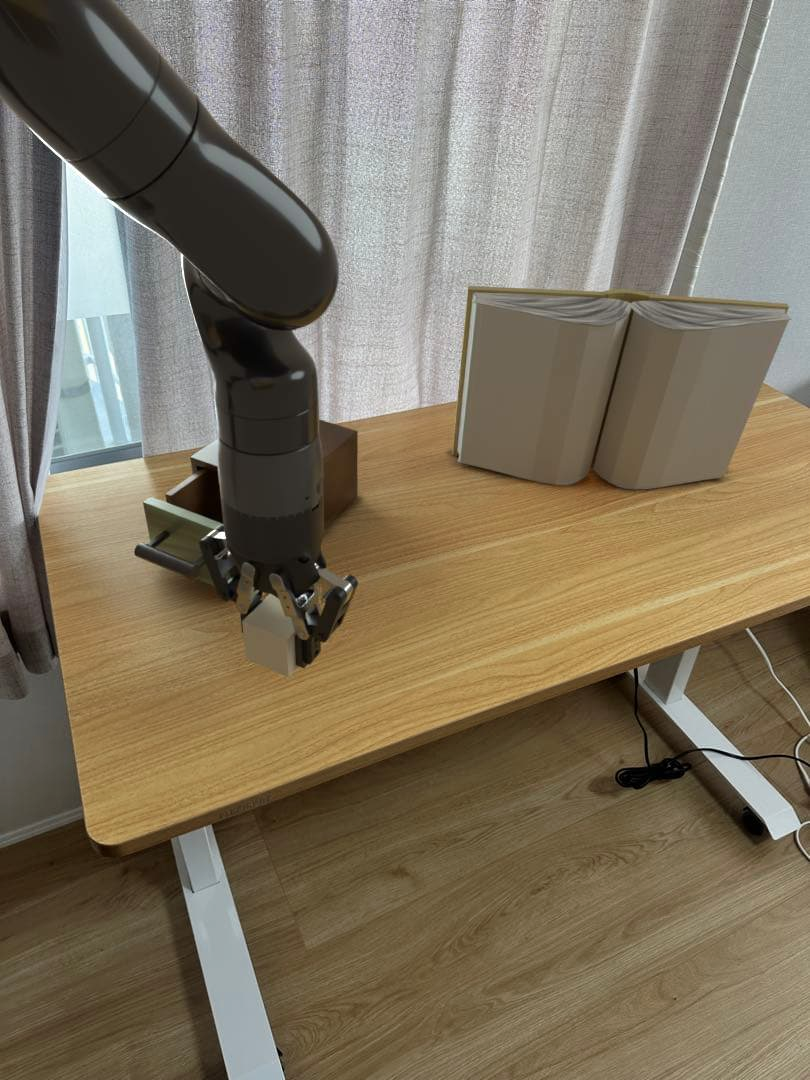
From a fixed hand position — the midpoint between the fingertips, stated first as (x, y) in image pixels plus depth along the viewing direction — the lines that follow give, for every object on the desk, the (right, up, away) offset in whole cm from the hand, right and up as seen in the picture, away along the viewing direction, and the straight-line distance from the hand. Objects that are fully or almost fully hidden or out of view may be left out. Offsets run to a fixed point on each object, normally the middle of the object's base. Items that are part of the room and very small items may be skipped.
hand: (281, 649), depth 69 cm
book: (+35, +18, +38) cm, 55 cm away
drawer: (-9, +8, +19) cm, 23 cm away
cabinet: (-4, +13, +27) cm, 30 cm away
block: (0, 0, 0) cm, 0 cm away
